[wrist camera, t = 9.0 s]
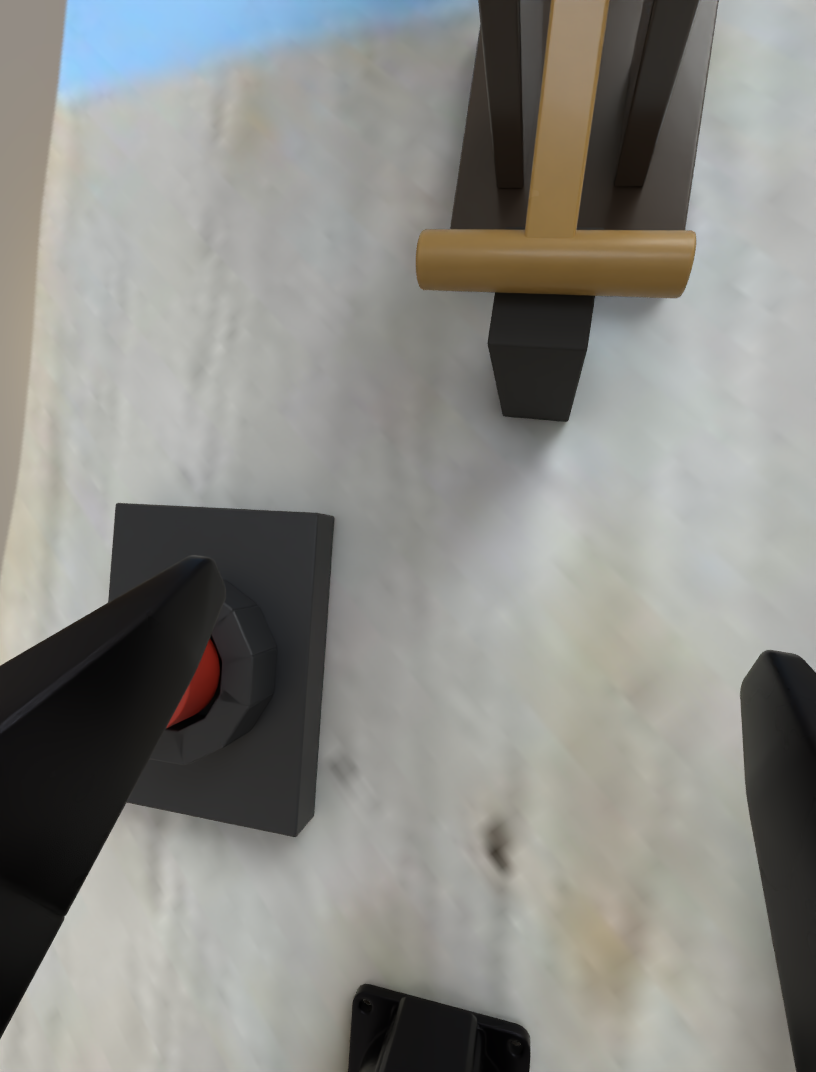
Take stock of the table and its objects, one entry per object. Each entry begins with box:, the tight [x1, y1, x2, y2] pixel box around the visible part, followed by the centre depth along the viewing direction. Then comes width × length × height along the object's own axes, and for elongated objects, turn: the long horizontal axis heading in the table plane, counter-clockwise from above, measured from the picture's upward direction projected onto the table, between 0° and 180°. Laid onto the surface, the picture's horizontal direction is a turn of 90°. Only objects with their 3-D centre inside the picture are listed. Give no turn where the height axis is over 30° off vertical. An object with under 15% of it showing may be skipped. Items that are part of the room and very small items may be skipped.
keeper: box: [488, 227, 604, 421], centre depth 16 cm, size 3×2×7 cm
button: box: [166, 639, 220, 728], centre depth 18 cm, size 4×4×2 cm
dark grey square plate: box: [108, 503, 334, 837], centre depth 20 cm, size 12×9×4 cm
